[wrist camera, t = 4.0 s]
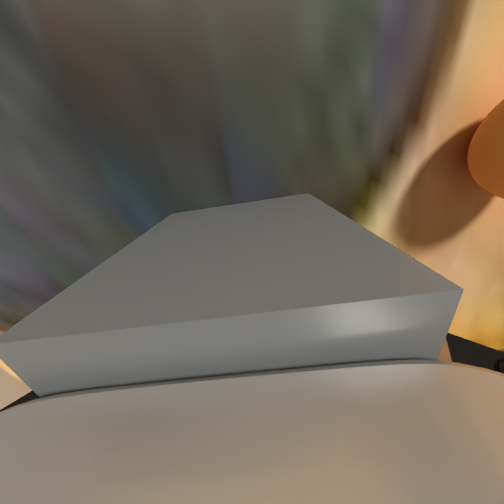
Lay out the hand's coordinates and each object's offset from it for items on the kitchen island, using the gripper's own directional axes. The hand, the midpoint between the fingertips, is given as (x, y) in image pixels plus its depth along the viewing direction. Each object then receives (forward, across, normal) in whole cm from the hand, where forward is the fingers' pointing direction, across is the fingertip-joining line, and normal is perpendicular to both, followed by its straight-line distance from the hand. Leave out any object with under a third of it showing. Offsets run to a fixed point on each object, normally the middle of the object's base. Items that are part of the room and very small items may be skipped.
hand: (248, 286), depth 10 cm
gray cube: (+3, 0, 0) cm, 3 cm away
